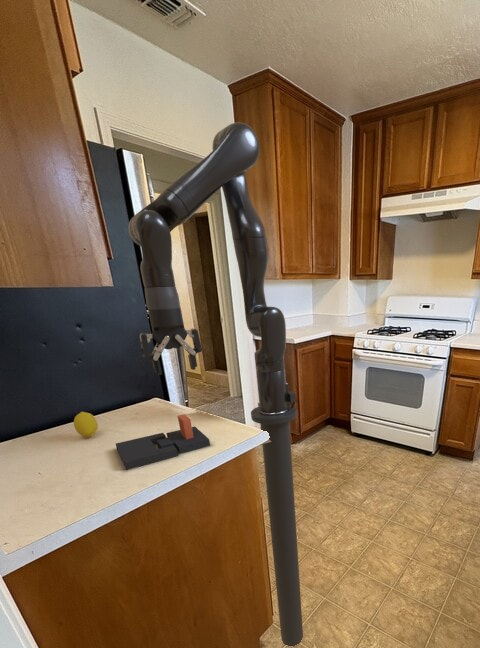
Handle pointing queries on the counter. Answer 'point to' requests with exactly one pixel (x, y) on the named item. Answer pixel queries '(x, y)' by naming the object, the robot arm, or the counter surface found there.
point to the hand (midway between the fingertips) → (177, 371)
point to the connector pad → (184, 437)
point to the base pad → (144, 451)
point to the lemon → (85, 424)
